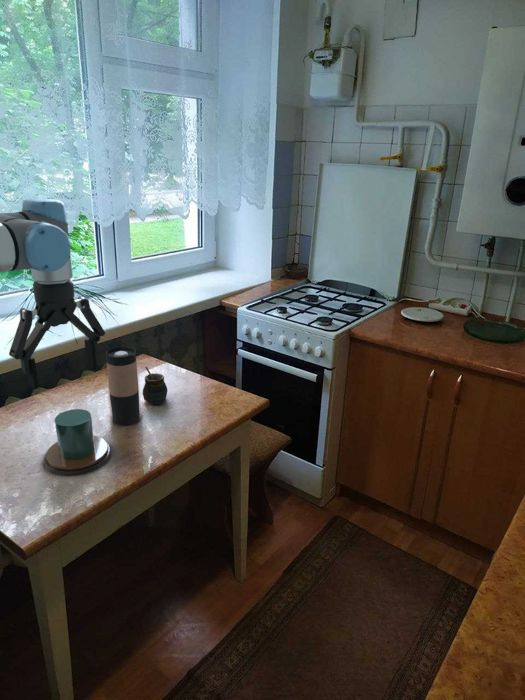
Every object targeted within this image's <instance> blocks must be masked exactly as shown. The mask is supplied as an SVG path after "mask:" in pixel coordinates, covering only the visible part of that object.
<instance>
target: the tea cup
mask: <svg viewBox="0 0 525 700" xmlns="http://www.w3.org/2000/svg"><path fill="white" fill-rule="evenodd" d="M54 424H55V433H56V440H57V441H56V442H54V443H53V444H52V445H51V446H49V448H48V449H47V450H46V453H45V454H46V461H47V463H48V464H49V465H50V466H52V467H54V468H56V469H60V470H77V469H82V468H86V467H89V466H91V465H94V464H96V463H97V462H99V461H100V460H102V459H103V458H104V457H105V455H106V454H107V451H108V445H109V444H108V445H107V443H108V442H107V441H106V440H105V439H104V438H103V437H101V436H97V435H94V429H93V419H92V413H91V412H90V411H89V410H88V409H87V410H86V409H82V408H74V409H68V410H65V411H62V412H60V413H58V414H57V415H56V416H55V418H54ZM106 442H107V443H106Z"/></svg>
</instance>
